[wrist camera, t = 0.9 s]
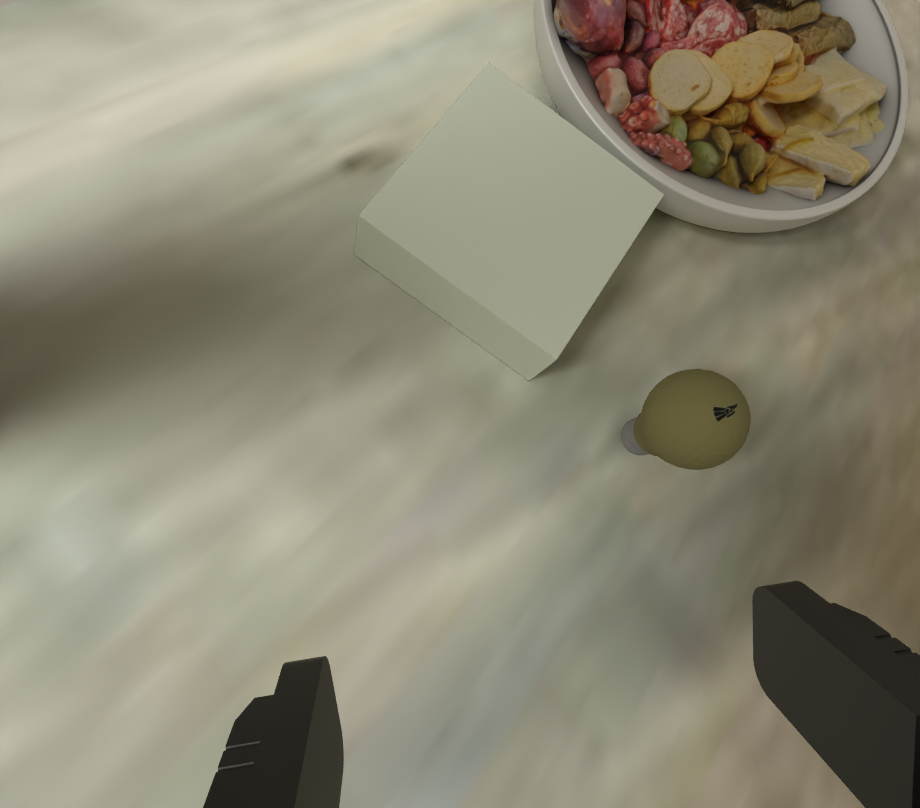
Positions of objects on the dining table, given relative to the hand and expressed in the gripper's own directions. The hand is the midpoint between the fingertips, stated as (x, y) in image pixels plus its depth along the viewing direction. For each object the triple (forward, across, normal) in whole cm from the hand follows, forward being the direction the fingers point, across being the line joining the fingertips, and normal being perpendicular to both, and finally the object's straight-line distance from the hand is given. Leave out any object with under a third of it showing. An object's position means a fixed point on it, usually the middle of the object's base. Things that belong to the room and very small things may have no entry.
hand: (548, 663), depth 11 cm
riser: (+33, -5, -9) cm, 35 cm away
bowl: (+42, -24, -20) cm, 52 cm away
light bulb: (+29, -12, +5) cm, 32 cm away
